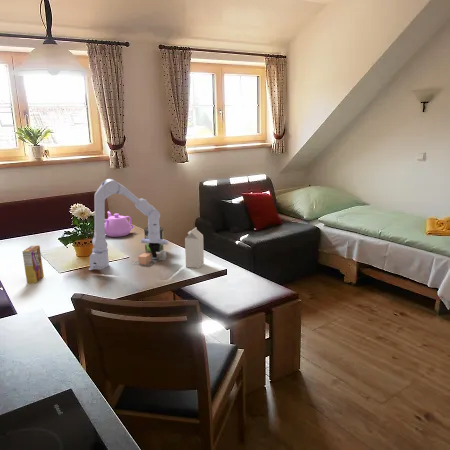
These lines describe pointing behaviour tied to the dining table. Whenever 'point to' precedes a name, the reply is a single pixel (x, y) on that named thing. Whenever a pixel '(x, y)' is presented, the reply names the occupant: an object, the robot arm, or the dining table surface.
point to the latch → (161, 254)
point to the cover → (145, 258)
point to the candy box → (33, 264)
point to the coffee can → (147, 249)
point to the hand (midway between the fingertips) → (155, 257)
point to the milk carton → (194, 249)
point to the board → (148, 263)
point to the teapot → (117, 225)
